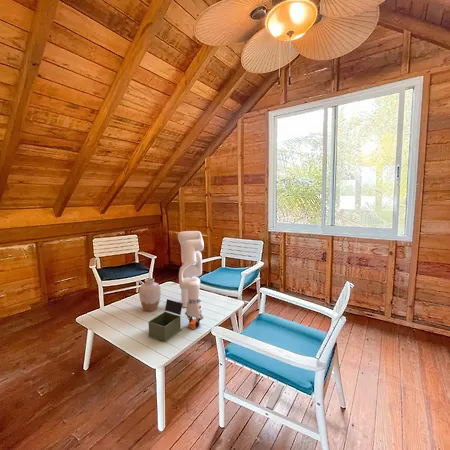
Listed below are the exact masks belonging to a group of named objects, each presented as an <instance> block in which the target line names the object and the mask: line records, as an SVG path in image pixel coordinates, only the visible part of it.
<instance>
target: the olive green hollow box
mask: <svg viewBox="0 0 450 450" xmlns="http://www.w3.org/2000/svg"><path fill="white" fill-rule="evenodd" d="M181 326H182V325H181V315H178V314H175V313H172V312H168V311H162V313H160V314H158V315H157V316H155V317H153V318H152V319H150V320H149V321H148V337H151V338H153V339H156V340H158V341H161V342H165V343H166V342H167V341H168V340H169V339H171V338H172V337H173V336H175V335H176V334H177V333H179V332H180V331H181V329H182V328H181Z"/></svg>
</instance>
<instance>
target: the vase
mask: <svg viewBox="0 0 450 450" xmlns="http://www.w3.org/2000/svg"><path fill="white" fill-rule="evenodd" d="M161 295H162V291H161V285H160V284H159V283H157V282H155V278H152V277H149V278H146V279H144V283H142V284H141V285H140V286H139V289H138V296H139V302H140V304H141V307H142V308H143V310H144V311H145V312H153V311H156V310H157V309H158V307H159V305H160V301H161Z"/></svg>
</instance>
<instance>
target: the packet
mask: <svg viewBox="0 0 450 450" xmlns="http://www.w3.org/2000/svg"><path fill="white" fill-rule="evenodd" d="M200 321H201V320H200ZM200 321H199V326H200V325H201V324H200ZM188 328H189V329H192V330H195V329H197V328H196V318H193V320H192V321H191V322H189V321H188Z"/></svg>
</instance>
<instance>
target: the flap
mask: <svg viewBox="0 0 450 450" xmlns="http://www.w3.org/2000/svg"><path fill="white" fill-rule="evenodd" d="M182 304H183V303H180V301H176V300H173V299H166V303H165V307H164V312H169V313H172V314H175V315H179V316H181V314H182V309H183V306H182Z"/></svg>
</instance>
